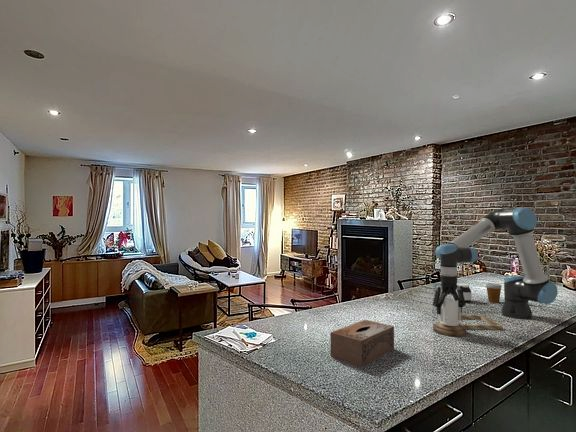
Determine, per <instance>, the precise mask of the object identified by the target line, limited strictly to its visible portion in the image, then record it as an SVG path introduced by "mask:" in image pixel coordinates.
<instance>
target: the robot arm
mask: <svg viewBox="0 0 576 432" xmlns="http://www.w3.org/2000/svg"><path fill="white" fill-rule="evenodd" d="M537 222H538V218H537V215H536V213H535V212H534V211H533V210H532V209H530V208H528V207H509V208H505V207H504V208H498V209H495V210H493V211H491V212H490V213H488V214H485V216H484V215H483V217H481V218H480V219H479V220H478V222H477V223H476V224H475V225H473V226H472V227H470V228H468V229H467V230H465V231H464V232H463V233H461V234H460V235H459V236H457V237H455V238H453V240H451V241H450V242H448V243H443V244H440V245H438V246H437V247H436V248H435V249H434V250H435V251H434V252H435V256H436V258H438V259H439V260H440V261H439V262H440V283H441V284H440V286H437V285H436V286H435V287H434V289H435V291H434V292H435V293H434V296H433V297H434V298H433V303H432V306H433V307H436V314H437V321H438V322H440V321H441V322H443V308H441V307H442V304H443V302H444V300H445V298H447V297H448V295H450V294H451V295H453V297H454V300H455V301H457V300H458V322H460V321H462V319H461V315H462V313H463V308H464V306H466V303H467V302H465V299H464V295H463V286H460V285H458V276H457V275H458V263H459V264H460V263H463V264H464V263H474V262H476V261H477V260H478V259H479V255H478V254H479V253H478V250H477V249H476V248H474V247H470V246H472V245H473V244H474V243H476V242H478V241H479V240H480V239H482V238H484V237H485V236H486V235H488V234H489V233H490V234H491V233H494V232H495V231H498V230H507V232H508V235H509V236H510V237H512V238H513V241H514V244H515V247H516V250H517V254H518V258H519V261H520V265H521V267H522V271H523V273H524V275H507V276H505V277H504V280H503V291H504V293H503V294H504V302H503V304H502V306H501V310H500V313H501V315H502V316H505V317H509V318H512V319H532V318H533V312H532V309H531V306H530V304H529V302H530V301H531V302H535V303H539V304H544V305H550V304H552V303H553V302H554V301H555V300H556V299H557V296H558V286H557V285H556V284H555V283H553V282H550V278H549V276H548V275H547V274H544V270H543V268H542V264H541V259H540V255H539V253H538V251H537V250H538V249H537V247H536V243H535V241H534V240H535V239H534V236H533V233H534V231H535V229H536V226H537ZM456 290H457V291H458V295H457V292H456ZM458 296H459V297H458Z"/></svg>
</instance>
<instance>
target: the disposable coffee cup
mask: <svg viewBox="0 0 576 432" xmlns="http://www.w3.org/2000/svg"><path fill="white" fill-rule="evenodd" d="M485 288H486V292H487V293H486V294H487V299H488V303H490V304H491V303H493V304H499V303H500V300H501V299H500V298H501V292H502V288H503V286H502V285H501V284H499V283H492V282H491V283H490V282H489V283H485Z"/></svg>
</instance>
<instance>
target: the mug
mask: <svg viewBox="0 0 576 432" xmlns="http://www.w3.org/2000/svg"><path fill="white" fill-rule="evenodd" d="M441 308H443V322H441V321H439V322H440V323H441V324H443V325H447V326H458V325H459V322H460V321H459V320H458V300H457V301H455V300H454V299H452V297H445V300H444V302H443V304H442V307H441Z"/></svg>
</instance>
